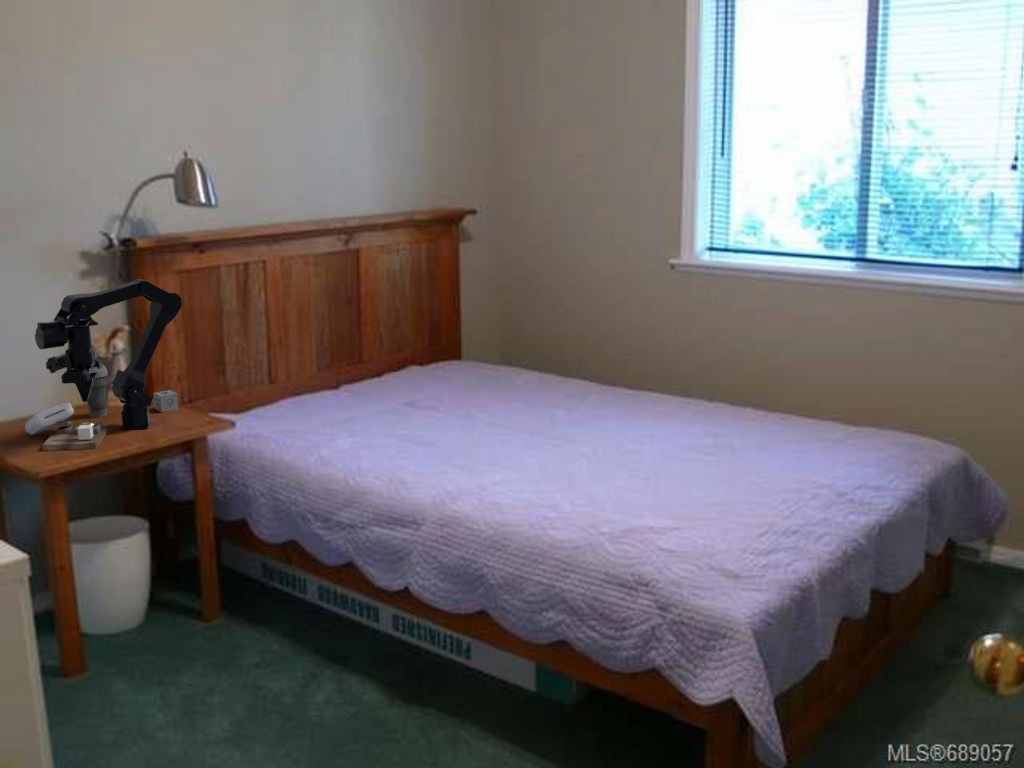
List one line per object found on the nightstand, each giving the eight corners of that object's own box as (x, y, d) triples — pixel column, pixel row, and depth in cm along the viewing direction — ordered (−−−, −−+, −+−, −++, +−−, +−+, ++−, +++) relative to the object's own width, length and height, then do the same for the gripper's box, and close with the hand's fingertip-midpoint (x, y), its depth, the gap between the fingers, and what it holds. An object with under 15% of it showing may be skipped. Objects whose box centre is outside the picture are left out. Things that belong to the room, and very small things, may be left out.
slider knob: (93, 435, 287) (92, 424, 287) (90, 439, 285) (89, 428, 284) (81, 436, 287) (80, 425, 286) (78, 439, 284) (77, 428, 283)
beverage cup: (93, 411, 317) (86, 343, 312) (117, 412, 316) (110, 344, 311) (80, 418, 310) (72, 349, 305) (104, 419, 309) (97, 349, 304)
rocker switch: (72, 424, 294) (72, 421, 294) (67, 425, 290) (67, 422, 290) (61, 424, 294) (61, 421, 294) (56, 425, 289) (56, 422, 289)
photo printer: (57, 408, 301) (71, 398, 291) (65, 422, 301) (78, 412, 291) (21, 423, 294) (34, 413, 285) (29, 437, 294) (41, 428, 285)
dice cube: (171, 406, 323) (169, 390, 321) (178, 410, 319) (177, 393, 318) (154, 409, 319) (153, 393, 318) (162, 413, 316) (160, 396, 314)
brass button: (96, 428, 295) (95, 421, 294) (93, 432, 292) (92, 424, 291) (83, 429, 294) (83, 421, 294) (81, 432, 291) (80, 425, 291)
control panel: (107, 432, 297) (106, 422, 296) (95, 448, 283) (94, 437, 283) (56, 434, 295) (55, 424, 294) (42, 450, 282) (41, 439, 281)
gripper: (56, 337, 295) (62, 393, 299) (37, 352, 277) (43, 412, 281) (99, 336, 296) (105, 392, 300) (83, 351, 279) (89, 410, 282)
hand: (85, 401), depth 291 cm, fingers closed
